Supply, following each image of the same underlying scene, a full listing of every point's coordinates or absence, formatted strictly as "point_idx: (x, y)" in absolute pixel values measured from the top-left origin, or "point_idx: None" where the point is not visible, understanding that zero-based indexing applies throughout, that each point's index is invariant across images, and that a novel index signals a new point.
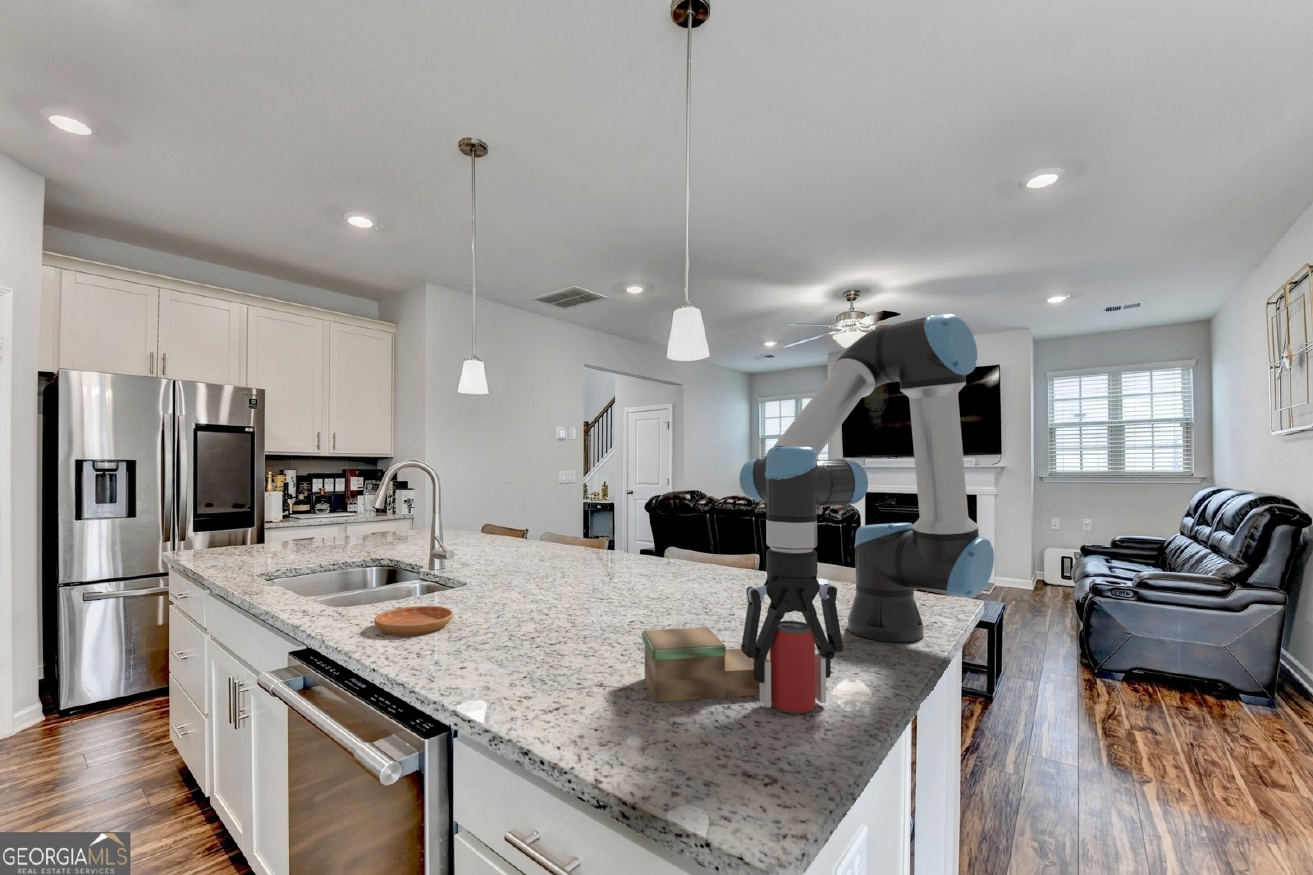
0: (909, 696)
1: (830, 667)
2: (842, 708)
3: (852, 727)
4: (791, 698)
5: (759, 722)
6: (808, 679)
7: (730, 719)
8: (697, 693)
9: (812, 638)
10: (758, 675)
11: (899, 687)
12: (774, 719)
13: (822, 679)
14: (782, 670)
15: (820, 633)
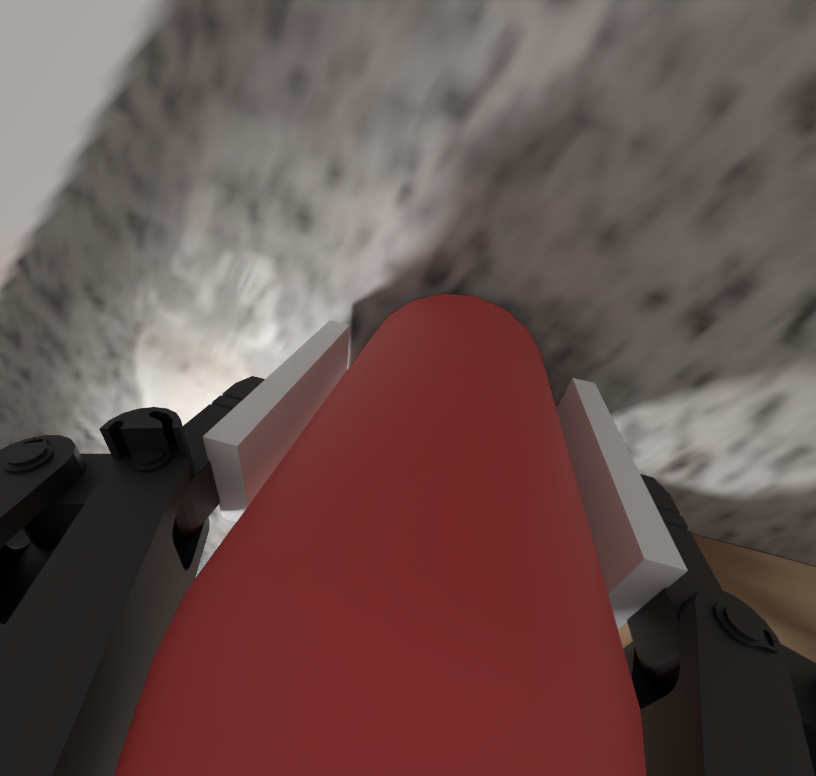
0: (17, 272)
1: (211, 405)
2: (279, 284)
3: (325, 82)
4: (516, 340)
5: (699, 311)
6: (409, 355)
7: (787, 385)
8: (738, 562)
9: (176, 653)
10: (669, 512)
11: (41, 341)
12: (609, 309)
13: (298, 370)
14: (568, 466)
15: (29, 677)
